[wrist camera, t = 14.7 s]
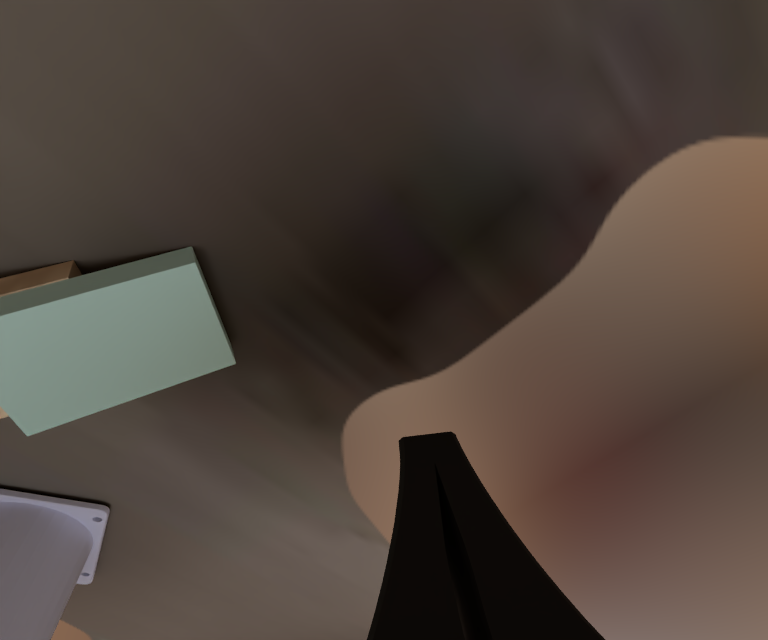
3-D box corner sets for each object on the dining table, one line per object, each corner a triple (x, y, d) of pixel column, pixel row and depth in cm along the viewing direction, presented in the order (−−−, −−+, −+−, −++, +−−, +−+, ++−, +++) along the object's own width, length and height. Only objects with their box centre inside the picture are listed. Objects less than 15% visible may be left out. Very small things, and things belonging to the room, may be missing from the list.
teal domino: (195, 262, 16) (-65, 334, 14) (236, 363, 19) (27, 436, 17) (191, 246, 17) (-48, 309, 15) (230, 343, 20) (35, 409, 18)
